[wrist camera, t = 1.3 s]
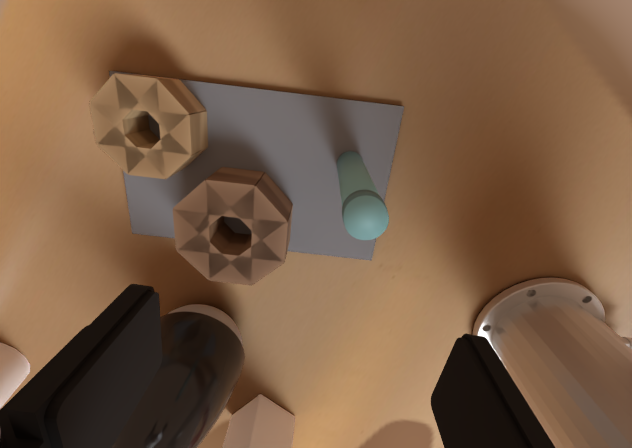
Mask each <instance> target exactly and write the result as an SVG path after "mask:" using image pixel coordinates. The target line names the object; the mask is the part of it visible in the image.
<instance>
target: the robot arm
mask: <svg viewBox="0 0 632 448" xmlns="http://www.w3.org/2000/svg"><path fill="white" fill-rule="evenodd" d="M161 362H162V339H161V322H160V305H159V294H158V293H157V292H154V289H153V287H150V286H144V285H137V284H131V285H129V286H128V287H127V288H126V289H125V290H124V291H123V292H122V293H121V294H120V295H119V296H118V297H117V298H116V299H115V300H114V301H113V302H112V303H111V304H110V305H109V306H108V307H107V308H106V309H105V310H104V311H103V312H102V313H101V314H100V315H99V316H98V317H97V318H96V319H95V320H94V321H93V322H92V323H91V324H90V325H89V326H86V327H85V328H83V329H82V330H81V331H80V332H79V333H78V334H77V335H76V336H75V337H74V338H73V339H72V340H71V341H70V342H69V343H68V344H67V345H66V346H65V347H64V348H63V349H62V350H61V351H60V352H59V353H58V354H57V355H56V356H55V357H54V358H53V359H52V360H50V361H49V362H48V363H47V364H46V365H45V366H44V367H43V368H42V369H41V370H40V371H39V372H38V373H37V374H36V375H35V376H34V377H33V378H32V379H31V380H30V381H29V382H28V383H27V384H26V385H25V386H24V387H23V388H22V389H21V390H20V391H19V392H18V393H17V394H16V395H15V396H14V397H13V398H12V399H11V400H10V401H9V402H8V403H7V404H6V405H5V406H4V407H3V408H2V409H1V410H0V448H112V446H113V445H114V443H115V441H116V440H117V438H118V436H119V435H120V433H121V431H122V430H123V428H124V426H125V425H126V423H127V421H128V420H129V418H130V416H131V415H132V413H133V411H134V410H135V408H136V406H137V405H138V403H139V401H140V400H141V398H142V396H143V395H144V393H145V391H146V390H147V388H148V386H149V385H150V383H151V381H152V380H153V378H154V376H155V375H156V373H157V371H158V370H159V368H160V365H161ZM431 407H432V410H433V413H434V417H435V420H436V423H437V426H438V429H439V432H440V435H441V438H442V441H443V445H444V448H632V338H627V337H620V336H619V335H618V334H617V333H616V332H614V331H613V330H612V329H611V328H610V327H609V326H607V325H606V324H605V311H604V308H603V306H602V303H601V302H600V300H599V299H598V298H597V297H596V295H594V294H593V293H592V292H591V291H589V290H588V289H587V288H586V287H584V286H582V285H580V284H579V283H577V282H574V281H571V280H567V279H562V278H539V279H534V280H529V281H525V282H523V283H520V284H517V285H514V286H512V287H510V288H508V289H506V290H504V291H503V292H501V293H500V294H499V295H497V296H496V297H494V298H493V299H492V300H491V301H490V302H489V303H488V304H487V305H486V306H485V307H484V308H483V310H482V311H481V312H480V314H479V315H478V317H477V320H476V322H475V324H474V329H473V335H470V334H464V335H463V336H462V337H461V338H458V339H457V340H456V342H455V344H454V346H453V349H452V351H451V353H450V355H449V357H448V360H447V362H446V364H445V366H444V369H443V371H442V373H441V375H440V378H439V380H438V382H437V384H436V387H435V389H434V391H433V393H432V396H431Z"/></svg>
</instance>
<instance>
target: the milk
mask: <svg viewBox="0 0 632 448" xmlns="http://www.w3.org/2000/svg"><path fill="white" fill-rule="evenodd" d="M294 425H295V416H294V415H292V414H291V413H289V412H288V411H286V410H284V409H283V408H281V407H280V406H278V405H277V404H275V403H274V402H272V401H271V400H269V399H268V398H266V397H265V396H263V395H262V394H260V395H258V396H257V397H256V398H254V399H253V400H252V401H250V402H249V403H247V404H246V405H245V406H243V407H242V408H241V409H239V410H238V411H237V412H235V413H234V414H233V415H232V416H231V419H230V423H229V426H228V430H227V433H226V437H225V440H224V444H223V447H222V448H292V446H293V435H294Z"/></svg>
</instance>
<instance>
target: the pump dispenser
mask: <svg viewBox="0 0 632 448" xmlns="http://www.w3.org/2000/svg"><path fill="white" fill-rule="evenodd" d="M160 322H161V339H162V362H161V365H160V368H159V370H158V371H157V373H156V375H155V376H154V378H153V380H152V381H151V383H150V385H149V386H148V388H147V390H146V391H145V393H144V395H143V396H142V398H141V400H140V401H139V403H138V405H137V406H136V408H135V410H134V411H133V413H132V415H131V416H130V418H129V420H128V421H127V423H126V425H125V426H124V428H123V430H122V431H121V433H120V435H119V436H118V438H117V440H116V441H115V443H114V445H113V446H112V448H197V447H198V446H199V445H200V444H201V442H202V441H203V440H204V438H205V437H206V436H207V434H208V433H209V432H210V430H211V429H212V427H213V426H214V424H215V423H216V421H217V420H218V418H219V417H220V415H221V413H222V412H223V410H224V408H225V406H226V404H227V403H228V401H229V399H230V397H231V395H232V393H233V390H234V388H235V386H236V384H237V382H238V379H239V377H240V374H241V371H242V368H243V365H244V358H245V356H244V349H243V344H242V338H241V334H240V331H239V329H238V327H237V325H236V324H235V322H234V321H233V320H232V319H231V318H230V317H229V316H228V315H227V314H226V313H224V312H223V311H221V310H219V309H217V308H215V307H212V306H208V305H203V304H192V305H186V306H182V307H179V308H177V309H175V310H172V311H171V312H169V313H167V314H166V315H164V316H162V317H160Z"/></svg>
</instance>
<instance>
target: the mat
mask: <svg viewBox="0 0 632 448" xmlns="http://www.w3.org/2000/svg"><path fill="white" fill-rule="evenodd" d="M115 73H117V74H133V73H125V72H116V71H109V75H110V77H111V76H112V75H113V74H115ZM135 75H141V74H135ZM147 76H149V75H147ZM156 77H158V76H156ZM164 78H166V77H164ZM172 79H174V78H172ZM179 80H181V82H182V83H183V84H184V85H185V86H186V87H187V88H188V89H189V91H190V92H191V93H192V94H193V95H194V96H195V97H196V99H197V100H198V101H199V102H200V103H201V104H202V105H203V107H204V108H205V109H206V111H207V128H208V148H206V149H205V150H204V151H203V152H202V153H201V154H200V155H199V156H198V157H197V158H196V159H194V160H193V161H192V162H191V163H190V164H189V165H188V166H187V167H186V168H184V169H183V170H181V171H179V172H177V173H176V174H174V175H172V176H171V177H169V178H167V179H159V178H151V177H142V176H134V175H128V174H126V173H125V172H124V171H123V173H124V180H125V187H126V193H127V200H128V207H129V214H130V221H131V228H132V233H133V234H141V235H150V236H159V237H168V238H175V233H174V221H173V208H174V207H175V206H176V205H177V204H178V203H179V202H180V201H182V200H183V199H184V198H185V197H186V196H187V195H188V194H189V193H191V192H192V191H193V190H194V189H195V188H196V187H197V186H199V185H200V184H201V183H202V182H203V181H204V180H206V179H207V178H208V177H209V176H211V175H212V174H213V173H215V172H216V171H217V170H218V169H220V168H221V167H228V168H237V169H245V170H254V171H262V172H264V173H265V172H266V173H267V175H268V176H269V177H270V178H271V179H272V180H273V181H274V183H275V184H276V185H277V186H278V187H279V188H280V190H281V191H282V192H283V193H284V194H285V195H286V196H287V198H288V199H289V200H290V201H291V202H292V203H293V210H292V222H291V233H290V242H289V246H288V250H287V251H292V252H301V253H310V254H319V255H327V256H336V257H345V258H354V259H363V260H372V256H373V251H374V246H375V242H376V238H375V239H372V240H359V239H356V238H354V237H352V236H351V235H350V234H349V233H348V232H347V230H346V228H345V225H344V222H343V218H342V202H341V194H340V186H339V178H338V170H337V161H338V158H339V157H340V156H341V155H342V154H343V153H345V152H348V151H353V152H356V153H358V154H359V155H360V156H361V158H362V160H363V162H364V164H365V166H366V168H367V170H368V172H369V174H370V176H371V179H372V181H373V183H374V185H375V187H376V189H377V191H378V193H379V195H380V197H381V198H382V199H383V201H384V199H385V195H386V190H387V185H388V180H389V176H390V171H391V166H392V162H393V157H394V152H395V148H396V143H397V138H398V133H399V129H400V124H401V119H402V115H403V110H404V106H397V105H389V104H380V103H372V102H364V101H356V100H347V99H339V98H331V97H323V96H314V95H306V94H298V93H290V92H281V91H273V90H265V89H257V88H248V87H240V86H232V85H224V84H215V83H207V82H199V81H191V80H182V79H179ZM148 119H149V128H150V130H151V131H152V132H153V133H154V134H155V135H156V136H157V137H158V138H159V139H160V128H159V123H158V122H157V121H156V120H155V119H154V118H153V117H152V116H151V115H150V114H149V115H148ZM160 140H161V139H160ZM224 222H225V223H226V224H227V225H228V226H229V227H230V228H231V229H232V230H233V231H234V232H235V233H240V234H249V235H250V234H251V233H252V231H251V230H250V229H249V228H248V227H247V225H246V224H245V223H244V222H243V221H242V220H241V219H240V218H235V217H226V216H224Z"/></svg>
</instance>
